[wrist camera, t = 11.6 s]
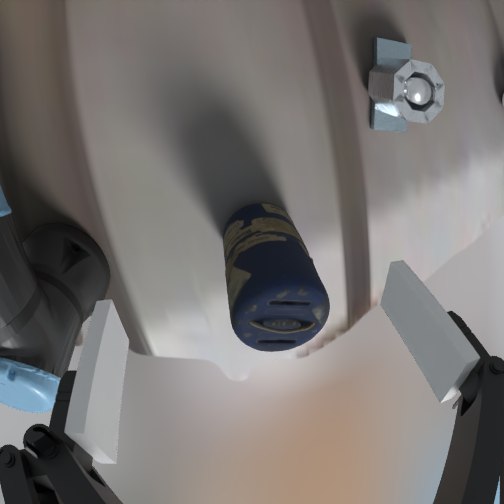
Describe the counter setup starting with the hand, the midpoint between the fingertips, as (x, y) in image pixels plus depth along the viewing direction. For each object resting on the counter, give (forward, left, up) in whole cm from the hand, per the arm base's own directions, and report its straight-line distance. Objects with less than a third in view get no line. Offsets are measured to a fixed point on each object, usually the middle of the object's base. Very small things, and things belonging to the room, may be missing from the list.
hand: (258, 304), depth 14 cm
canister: (+3, -11, -27) cm, 29 cm away
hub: (+20, +9, -25) cm, 34 cm away
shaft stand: (+20, +9, -26) cm, 34 cm away
